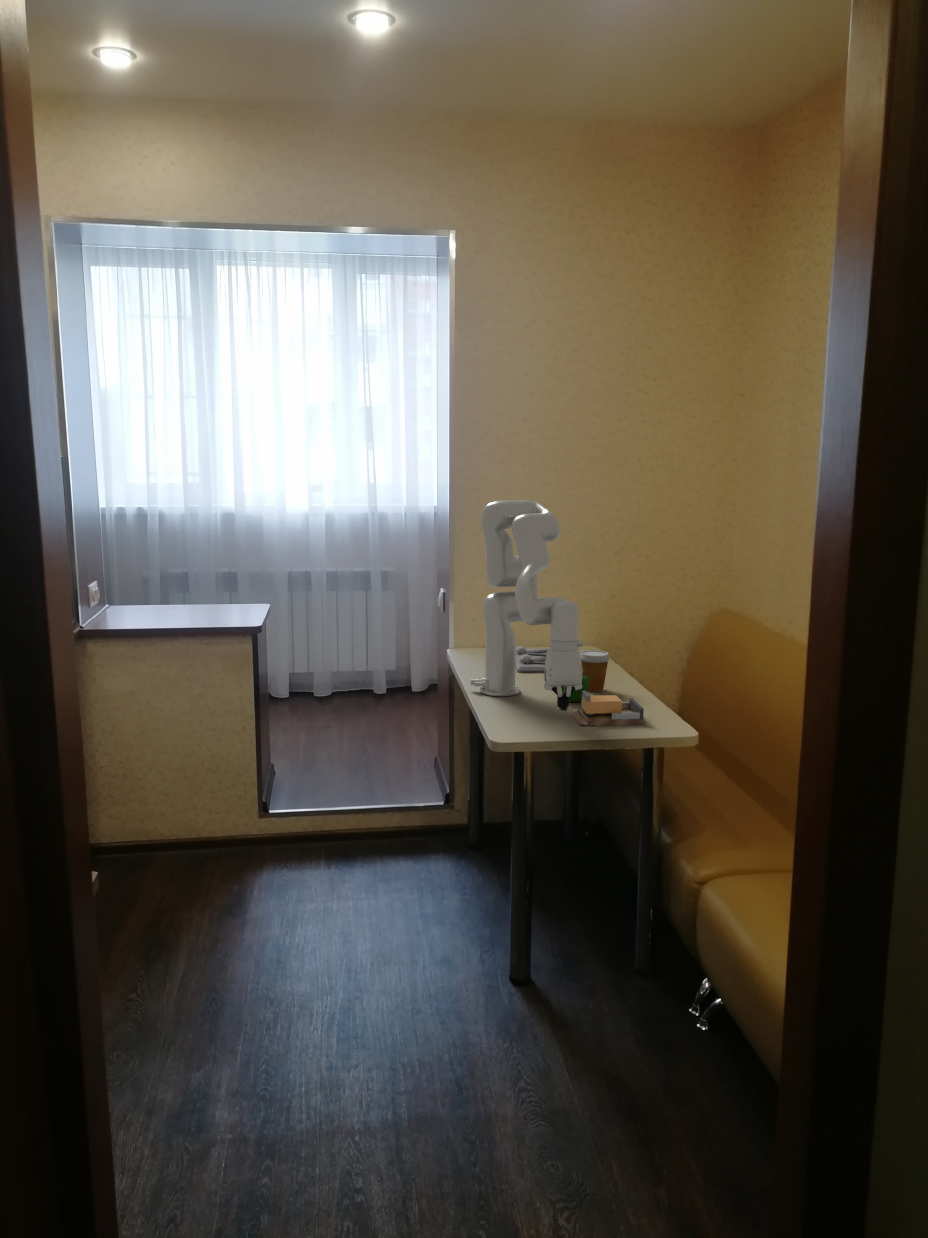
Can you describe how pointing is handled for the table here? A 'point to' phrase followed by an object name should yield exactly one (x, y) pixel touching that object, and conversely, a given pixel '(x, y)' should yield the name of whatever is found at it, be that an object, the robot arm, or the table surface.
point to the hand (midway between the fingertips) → (562, 709)
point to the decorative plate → (530, 659)
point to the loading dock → (613, 716)
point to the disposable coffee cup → (595, 668)
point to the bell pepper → (578, 693)
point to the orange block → (600, 704)
